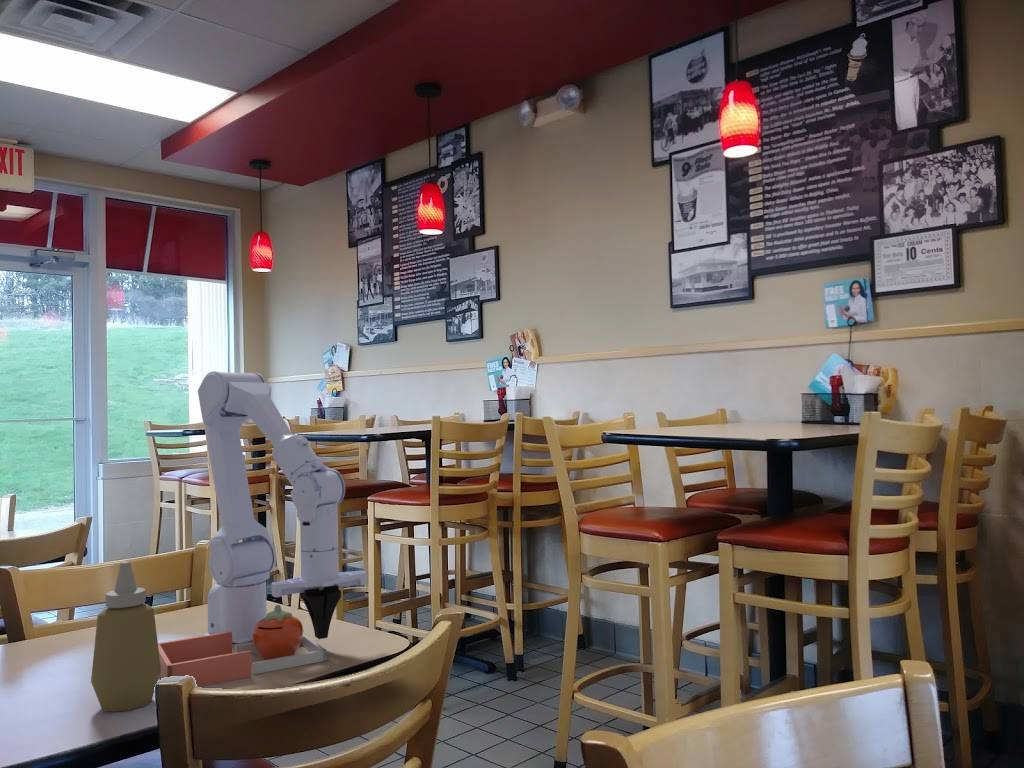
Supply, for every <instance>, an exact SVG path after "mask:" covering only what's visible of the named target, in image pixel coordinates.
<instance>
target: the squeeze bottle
mask: <svg viewBox="0 0 1024 768" xmlns="http://www.w3.org/2000/svg"><path fill="white" fill-rule="evenodd" d="M117 573H118V574H117V578H116V582H115V586H114V590H110V591H108V592H107V593H105V596H104V597H105V607H107V608H104V609H103V610H102V611H101V612H99V614H98V615H97V617H96V627H95V635H94V636H95V637H94V639H95V640H94V647H93V658H92V669H91V676H90V678H91V679H90V683H91V686H92V687H93V691H94V693H95V695H96V697H97V700H98V703H99V705H100V708H101V709H102V710H103V711H108V712H123V711H130V710H133V709H138V708H141V707H143V706H146V705H147V704H149V703H151V702H152V700H153V697H154V693H155V691H154V687H155V684H156V683H157V684H158V682H159V681H158V680H159V679H160V677H159V675H160V672H161V665H160V657H159V649H158V643H159V641H158V634H157V633H158V631H157V625H156V617H155V609H154V607H152V606H151V605H149V604H148V603H145V602H146V600H147V590H146V589H145V588H144V587H137V583H136V579H135V575H134V572H133V567H132V563H131V561H126V562H125V561H124V562H120V564H119V568H118V572H117ZM157 681H158V682H157Z"/></svg>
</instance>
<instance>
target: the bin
mask: <svg viewBox="0 0 1024 768" xmlns="http://www.w3.org/2000/svg"><path fill="white" fill-rule="evenodd" d="M158 649H159V657H160V665H161V672H160V675H159V679H160V680H161V678H164V677H170V676H185V675H189V676H193V677H194V678H195V680H196V684H197V686H199V687H205V686H209V685H214V684H219V683H225V682H231V681H235V680H241V679H247V678H251V677H252V653H251V651H250V650H248V651H243V652H237V653H236V652H233V642H232V632H231V631H230V632H224V633H218V634H212V635H206V636H204V635H200V636H194V637H188V638H187V637H186V638H182V639H176V640H170V641H164V642H158Z"/></svg>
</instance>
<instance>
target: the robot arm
mask: <svg viewBox="0 0 1024 768" xmlns="http://www.w3.org/2000/svg"><path fill="white" fill-rule="evenodd" d="M197 396H198V399H199V400H198V401H199V407H200V411H201V412H200V413H201V418H202V419H201V420H202V423H203V424H204V425H203V427H204V432H205V438H206V444H207V451H208V456H209V461H210V462H209V463H210V467H211V473H212V479H213V480H212V481H213V485H214V491H215V497H216V502H217V508H218V515H219V520H220V528H219V529H218V530H217V531H216V533H215V534H214V535H213V536H212V538H210V540H209V542H208V545H209V557H208V558H209V559H208V569H209V573H210V575H211V577H212V579H213V580H214V581H215V583H214V584H213V585H212V587H211V588H210V590H209V592H208V595H207V601H206V602H207V633H204V634H203V636H206V635H212V634H218V633H224V632H230V631H231V632H232V643H233V644H234V643H236V644H238V645H239V644H245V643H250V642H253V636H252V634H253V629H254V627H255V625H256V624H257V623H258V622H259V621H260V620H261V619H263V618H265V617H266V616H267V613H268V612H267V609H268V608H267V606H268V605H267V580H269V579H270V573H272V572H273V571H274V569H275V567H276V564H277V557H278V556H277V551H276V548H275V546H274V544H273V542H272V540H271V538H270V534H269V530H268V529H267V528H266V527H265V526H263V524H261V523H259V522H258V521H256V519H255V514H254V509H253V503H252V497H251V493H250V487H249V481H248V475H247V469H246V465H245V458H244V454H243V453H244V452H243V447H242V441H241V436H240V429H241V428H242V426H243V425H244V424H245V423H247V422H249V421H250V420H251V421H252V422H253V423H254V424H255V426H256V427H257V428H258V429H259V431H261V433H262V434H263V435H264V436H265V437H266V439H267V440H268V441H269V443H271V445H272V446H273V448H272V451H271V452H272V453H271V456H272V459H273V460H274V462H275V464H277V466H278V467H279V469H280V470H281V472H282V473H283V475H285V477H286V479H287V480H288V481H289V483H290V485H291V487H292V490H290V495H291V497H290V498H291V501H292V503H293V505H294V506H295V508H296V509H295V510H296V517H297V519H298V522H299V523H300V524H299V527H300V529H299V530H300V537H299V538H300V576H298V577H294V578H289V579H284V580H280V581H274V582H271V587H270V588H271V596H272V597H274V598H280V597H282V596H288V595H295V594H300V598H301V600H302V601H303V603H304V605H305V608H306V610H307V612H308V614H309V617H310V620H311V624H312V628H313V631H314V632H313V633H314V637H315V638H316V639H317V640H323V639H328V638H329V637H328V636H329V631H330V625H331V621H332V618H333V615H334V612H335V610H336V608H337V605H338V603H339V602H340V600H341V598H342V590H341V589H340V588H344V587H349V586H350V587H351V586H357V585H360V586H365V585H368V582H367V581H368V578H367V577H368V575H367V571H365V570H356V571H355V570H354V571H340V570H339V561H340V559H339V515H338V513H339V511H338V510H339V509H338V506H339V504H341V503H342V501H343V500H344V497H345V496H346V495H345V494H346V483H345V480H344V478H343V476H342V475H341V472H339V471H338V470H337V469H334V468H333V469H332V468H330V467H329V466H328V465H325V464H324V463H323V462H322V461H321V459H320V458H319V456H318V455H317V454H316V453H315V451H314V450H313V448H312V447H311V446H310V441H309V440H308V439H307V438H306V437H304V436H302V435H300V434H293V433H292V431H291V429H290V428H289V426H288V425H287V423H286V421H285V419H284V418H283V416H282V415H281V413H280V411H279V409H278V408H277V406H276V405H275V403H274V401H273V399H272V398H271V397H272V386H271V385H270V384H269V383H268V382H267V380H266V378H265V376H264V375H262V373H260V372H225V371H224V372H221V371H217V370H216V371H215V370H213V371H210V372H207V373H206V375H205V376H204V377H203V379H202V382H201V383H200V385H199V388H198V389H197ZM243 540H244V541H243ZM237 541H240V542H237ZM233 542H236V543H233Z"/></svg>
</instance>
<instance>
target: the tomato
mask: <svg viewBox="0 0 1024 768" xmlns="http://www.w3.org/2000/svg"><path fill="white" fill-rule="evenodd" d="M303 634H304V627H303V623H302V621H301V620H300V619H299V618H298V617H296V616H294V615H293V614H292V612H290V611H286V610H283V609H282V607H281V605H280V604H276V605H275V606H274V610H272V611H270V612H267V616H266V617H265V618H263V619H261V620H260V621H259V622H258V623H257V624H256V625H255V627H254V629H253V634H252V636H253V640H252V642H254V645H255V648H256V650H257V651H258V652H257V653H258V655H259V657H261V658H262V659H263V660H270V659H275V658H280V657H286V656H291V655H296V654H297V652H298V650H299V648H300V646H301V645H300V644H301V641H302V638H303Z"/></svg>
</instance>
